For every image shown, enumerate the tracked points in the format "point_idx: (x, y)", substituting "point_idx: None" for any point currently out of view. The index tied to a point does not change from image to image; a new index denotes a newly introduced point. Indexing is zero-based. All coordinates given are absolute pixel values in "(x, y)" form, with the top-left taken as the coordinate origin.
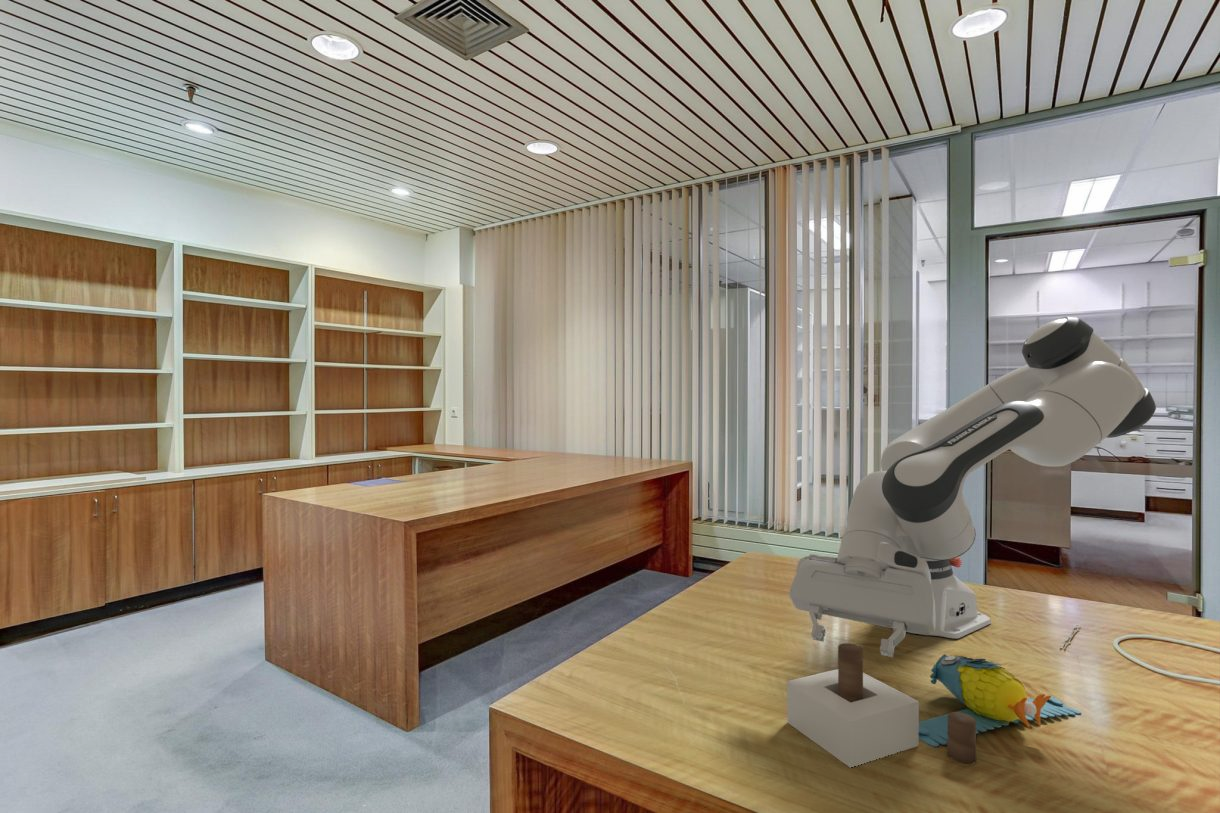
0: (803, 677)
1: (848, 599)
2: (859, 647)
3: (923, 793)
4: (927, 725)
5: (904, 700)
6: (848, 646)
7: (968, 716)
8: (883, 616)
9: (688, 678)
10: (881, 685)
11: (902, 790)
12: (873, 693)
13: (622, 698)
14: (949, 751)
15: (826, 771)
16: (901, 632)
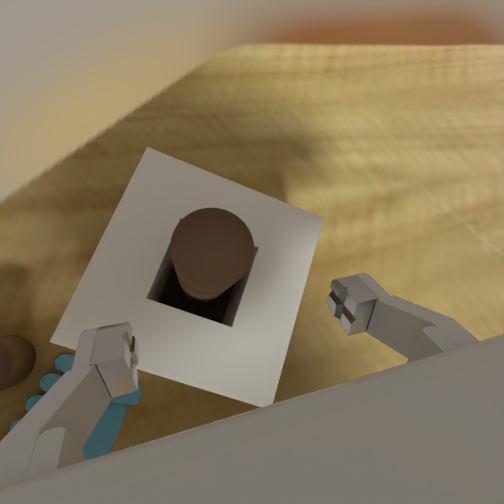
0: (311, 257)
1: (368, 447)
2: (191, 274)
3: (42, 198)
4: (95, 427)
5: (83, 319)
6: (224, 255)
7: None
8: (112, 454)
9: (473, 254)
10: (160, 358)
11: (72, 185)
12: (161, 304)
13: (473, 142)
14: (23, 342)
15: (182, 159)
16: (14, 427)
